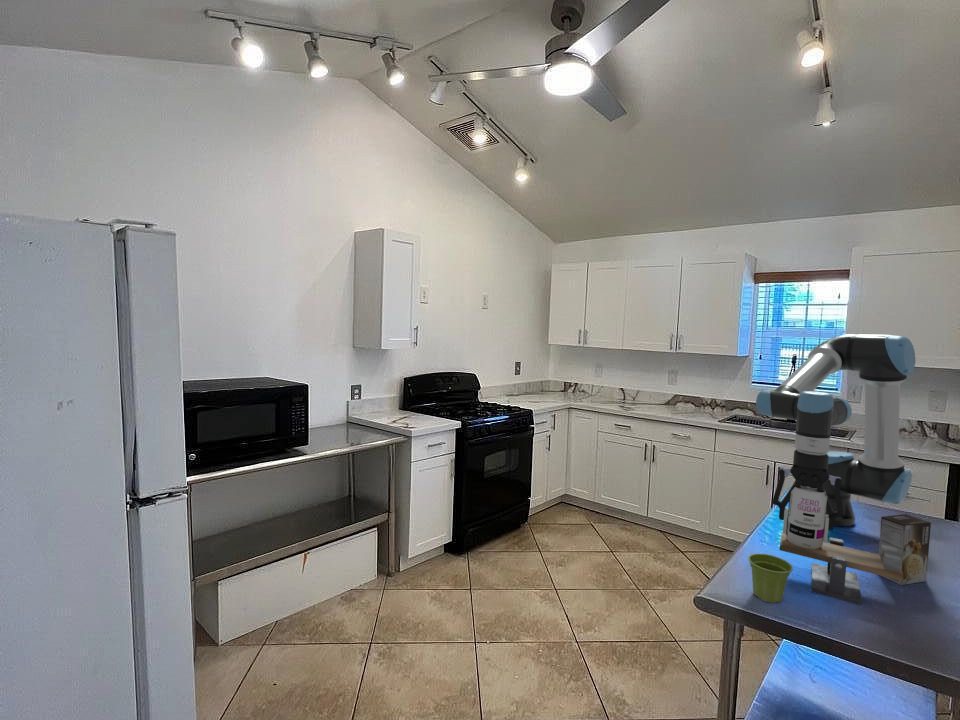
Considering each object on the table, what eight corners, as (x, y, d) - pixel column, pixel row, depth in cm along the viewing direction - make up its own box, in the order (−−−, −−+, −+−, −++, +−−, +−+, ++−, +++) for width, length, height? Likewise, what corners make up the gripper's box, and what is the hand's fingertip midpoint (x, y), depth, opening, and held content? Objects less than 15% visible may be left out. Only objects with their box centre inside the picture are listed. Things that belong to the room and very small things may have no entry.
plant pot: (790, 593, 126) (792, 559, 125) (790, 611, 117) (793, 575, 117) (747, 583, 130) (749, 550, 130) (745, 599, 122) (747, 564, 122)
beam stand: (811, 566, 140) (813, 533, 140) (856, 577, 135) (859, 542, 134) (811, 592, 126) (814, 555, 126) (861, 605, 121) (865, 566, 120)
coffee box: (901, 570, 139) (906, 513, 138) (927, 582, 133) (932, 522, 132) (875, 574, 137) (880, 515, 136) (901, 586, 131) (906, 525, 130)
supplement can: (808, 537, 138) (813, 483, 137) (829, 551, 130) (835, 494, 128) (778, 536, 138) (784, 482, 136) (798, 550, 130) (804, 492, 128)
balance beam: (781, 537, 141) (782, 521, 141) (896, 564, 128) (898, 547, 127) (779, 550, 133) (781, 533, 132) (902, 580, 119) (905, 562, 119)
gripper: (763, 447, 134) (757, 531, 136) (863, 461, 123) (855, 552, 125) (765, 442, 141) (759, 522, 142) (860, 455, 129) (853, 541, 131)
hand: (804, 536), depth 134 cm, fingers closed on supplement can, 8 cm apart
